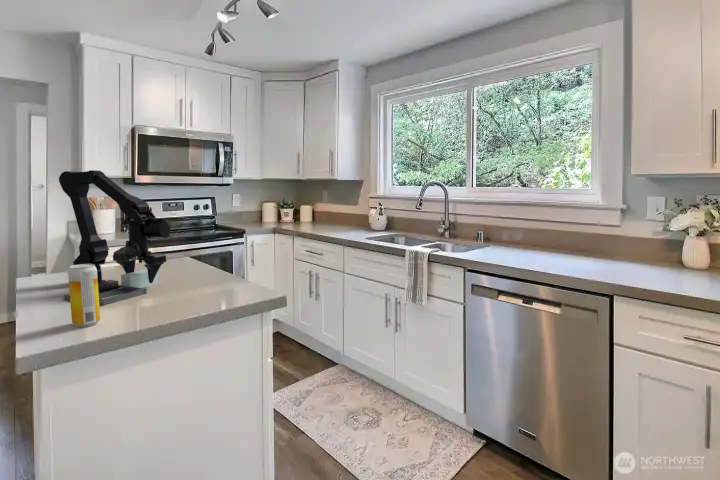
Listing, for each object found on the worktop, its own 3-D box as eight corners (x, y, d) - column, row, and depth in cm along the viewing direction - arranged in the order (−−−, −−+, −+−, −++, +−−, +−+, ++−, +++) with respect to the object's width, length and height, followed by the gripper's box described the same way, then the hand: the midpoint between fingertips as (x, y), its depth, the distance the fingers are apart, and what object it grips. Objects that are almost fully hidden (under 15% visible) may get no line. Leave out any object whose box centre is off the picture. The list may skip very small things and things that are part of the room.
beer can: (93, 318, 114) (89, 262, 112) (105, 323, 110) (101, 265, 109) (67, 324, 109) (63, 266, 107) (79, 329, 106) (74, 269, 104)
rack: (62, 300, 131) (61, 288, 131) (109, 288, 146) (108, 278, 145) (101, 306, 125) (101, 294, 125) (146, 293, 140) (146, 282, 140)
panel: (121, 289, 146) (121, 274, 145) (150, 282, 157) (149, 268, 156) (130, 290, 144) (129, 275, 144) (159, 283, 155) (158, 269, 155)
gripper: (97, 238, 144) (100, 284, 146) (139, 241, 138) (142, 289, 140) (125, 235, 154) (128, 277, 156) (166, 237, 148) (168, 282, 150)
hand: (140, 281), depth 150 cm, fingers open, 9 cm apart
